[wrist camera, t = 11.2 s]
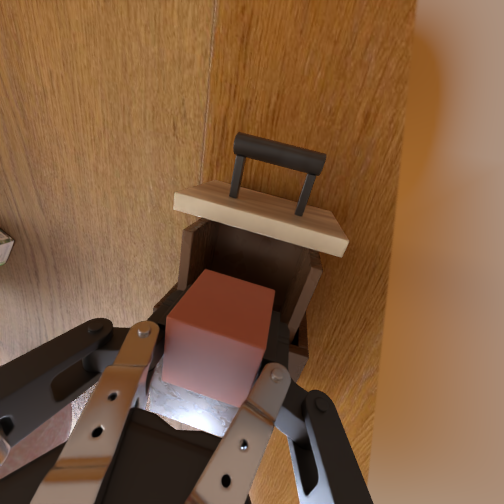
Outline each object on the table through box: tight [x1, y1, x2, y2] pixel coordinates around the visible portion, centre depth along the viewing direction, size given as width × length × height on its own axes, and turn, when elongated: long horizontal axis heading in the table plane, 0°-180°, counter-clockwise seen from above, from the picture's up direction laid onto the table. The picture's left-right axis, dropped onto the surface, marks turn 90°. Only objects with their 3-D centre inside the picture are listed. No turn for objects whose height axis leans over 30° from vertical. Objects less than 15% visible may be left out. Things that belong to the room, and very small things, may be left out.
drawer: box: [173, 132, 349, 344], centre depth 19 cm, size 18×11×8 cm, turn 167°
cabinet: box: [149, 282, 309, 437], centre depth 24 cm, size 15×13×10 cm
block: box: [162, 269, 275, 408], centre depth 12 cm, size 4×4×4 cm
